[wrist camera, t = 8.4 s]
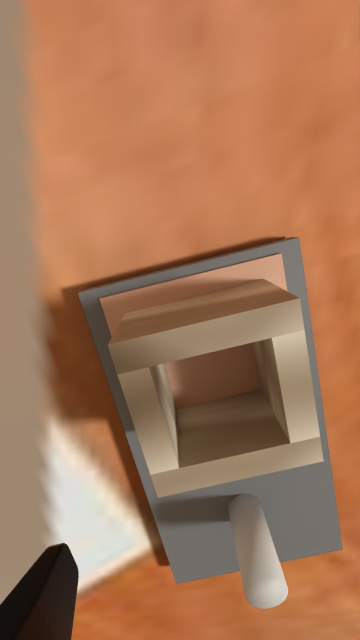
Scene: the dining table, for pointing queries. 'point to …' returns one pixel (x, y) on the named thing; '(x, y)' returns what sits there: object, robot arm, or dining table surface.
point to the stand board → (216, 383)
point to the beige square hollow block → (227, 413)
